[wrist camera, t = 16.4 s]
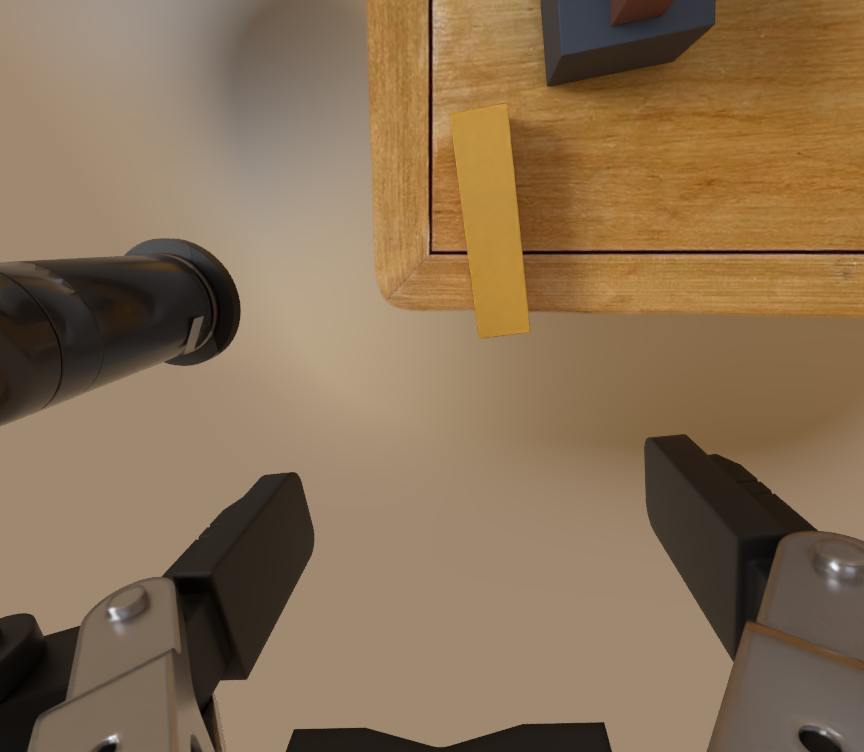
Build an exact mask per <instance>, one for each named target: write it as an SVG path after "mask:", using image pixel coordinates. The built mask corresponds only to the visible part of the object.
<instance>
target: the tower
mask: <svg viewBox="0 0 864 752" xmlns="http://www.w3.org/2000/svg"><path fill="white" fill-rule="evenodd" d="M541 12H542V25H543V38H544V51H545V64H546V77H547V86H552V85H557V84H562V83H567V82H572V81H577V80H582V79H587V78H592V77H597V76H602V75H607V74H612V73H617V72H622V71H627V70H632V69H637V68H642V67H647V66H652V65H657V64H662V63H668V62H673V61H674V60H676V59H677V58H678V57H679V56H680V55H681V54H682V53H683V52H685V51H686V50H687V49H688V48H689V47H690V46H691V45H692V44H693V43H695V42H696V41H697V40H698V39H699V38H700V37H701V36H702V35H704V34H705V33H706V32H707V31H708V30H709V29H710V28H711V27H712V26H714V25H715V0H541Z"/></svg>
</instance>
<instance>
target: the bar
mask: <svg viewBox="0 0 864 752" xmlns="http://www.w3.org/2000/svg"><path fill="white" fill-rule="evenodd" d="M450 123H451V130H452V138H453V146H454V153H455V161H456V169H457V176H458V184H459V191H460V199H461V207H462V214H463V222H464V230H465V237H466V245H467V252H468V260H469V268H470V275H471V283H472V291H473V298H474V306H475V313H476V321H477V329H478V336H479V339H482V338H489V337H497V336H504V335H511V334H519V333H527V332H530V324H529V314H528V304H527V294H526V284H525V274H524V264H523V253H522V243H521V233H520V223H519V213H518V203H517V193H516V183H515V173H514V163H513V153H512V143H511V133H510V123H509V113H508V103H503V104H498V105H493V106H488V107H483V108H478V109H473V110H468V111H463V112H458V113H453V114H450Z"/></svg>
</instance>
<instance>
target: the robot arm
mask: <svg viewBox="0 0 864 752" xmlns="http://www.w3.org/2000/svg"><path fill="white" fill-rule="evenodd" d="M219 319H220V305H219V300H218V296H217V293H216V291H215V288H214V286H213V285H212V283H211V281H210V280H209V278H208V277H207V276H206V274H205V273H204V272H203V271H202V270H201V269H200V268H199V267H198V266H196V265H195V264H194V263H192V262H191V261H189V260H187V259H185V258H183V257H181V256H178V255H174V254H168V253H156V254H148V255H139V256H115V257H96V258H77V259H58V260H39V261H21V262H20V261H19V262H6V263H0V426H2V425H5V424H8V423H11V422H13V421H15V420H18V419H21V418H23V417H26V416H28V415H31V414H33V413H36V412H38V411H41V410H44V409H46V408H49V407H51V406H54V405H56V404H59V403H61V402H64V401H66V400H69V399H72V398H74V397H76V396H79V395H81V394H83V393H86V392H89V391H91V390H94V389H96V388H99V387H101V386H104V385H106V384H109V383H112V382H114V381H116V380H119V379H121V378H124V377H127V376H129V375H131V374H134V373H137V372H139V371H142V370H144V369H147V368H150V367H152V366H154V365H157V364H160V363H162V362H165V361H167V360H170V359H173V358H175V357H178V356H180V355H185V354H188V353H191V352H194V351H196V350H198V349H200V348H202V347H203V346H205V345H206V344H207V343H208V342H209V341H210V340H211V339H212V337H213V336H214V334H215V332H216V330H217V328H218V324H219ZM644 448H645V449H644V454H645V485H646V506H647V512H648V517H649V520H650V523H651V526H652V528H653V530H654V532H655V534H656V536H657V537H658V539H659V541H660V542H661V544H662V545H663V547H664V549H665V550H666V552H667V554H668V555H669V557H670V559H671V560H672V562H673V564H674V565H675V567H676V568H677V570H678V572H679V573H680V575H681V577H682V578H683V580H684V582H685V583H686V585H687V587H688V588H689V590H690V591H691V593H692V595H693V596H694V598H695V600H696V601H697V603H698V604H699V606H700V608H701V610H702V611H703V613H704V614H705V616H706V618H707V619H708V621H709V623H710V624H711V626H712V628H713V629H714V631H715V633H716V634H717V636H718V637H719V639H720V641H721V642H722V644H723V646H724V647H725V649H726V651H727V652H728V654H729V655H730V657H731V659H732V660H733V662H734V664H733V667H732V670H731V674H730V677H729V680H728V684H727V687H726V690H725V694H724V697H723V700H722V703H721V707H720V710H719V713H718V716H717V720H716V723H715V726H714V729H713V733H712V736H711V739H710V743H709V746H708V749H707V752H864V541H862V540H859V539H856V538H853V537H850V536H846V535H842V534H837V533H831V532H823V531H818V530H817V529H815V528H814V527H813V526H812V525H811V524H810V523H808V522H807V521H806V520H805V519H804V518H803V517H801V516H800V515H799V514H798V513H797V512H795V511H794V510H793V509H792V508H791V507H790V506H788V505H787V504H786V503H785V502H784V501H783V500H781V499H780V498H779V497H778V496H777V495H776V494H772V493H771V490H770V489H769V488H767V487H766V486H765V485H764V484H763V483H761V482H758V481H757V478H756V477H754V476H753V475H752V474H751V473H750V472H748V471H747V470H746V469H745V468H744V467H742V465H740V464H738V463H735V462H733V461H731V460H729V459H726V458H724V457H722V456H720V455H717V454H712V455H707V454H706V453H705V452H704V451H703V450H702V449H701V448H700V447H699V446H697V445H696V444H695V443H694V442H693V441H692V440H691V439H690V438H689V437H688V436H687V435H684V434H681V435H671V436H661V437H650V438H647V439H646V441H645V447H644ZM313 547H314V530H313V525H312V521H311V517H310V513H309V509H308V505H307V502H306V498H305V494H304V490H303V486H302V482H301V479H300V477H299V476H298V475H297V473H294V472H290V473H280V474H270V475H264V476H262V477H261V478H260V479H259V480H258V481H257V482H256V483H255V484H254V486H253V487H252V488H251V489H250V490H249V491H248V492H247V493H246V494H245V496H244V497H243V498H241V499H239V500H238V501H237V502H235V503H233V504H232V505H230V506H229V507H228V508H226V509H225V510H223V511H222V512H221V514H219V515H218V517H217V518H216V519H215V520H214V521H213V522H212V523H211V524H210V527H209V528H207V529H205V530H204V532H203V533H202V534H201V535H200V536H199V540H195V541H194V542H193V543H192V544H191V546H190V547H189V548H188V549H187V550H186V551H185V552H184V553H183V554H182V555H181V556H180V557H179V559H178V560H177V561H176V562H175V563H174V564H173V565H172V566H171V567H170V568H169V569H168V570H167V571H166V573H164V575H163V576H162V577H153V578H148V579H143V580H140V581H137V582H134V583H132V584H129V585H127V586H125V587H123V588H121V589H119V590H118V591H115V592H114V593H112V594H110V595H109V596H107V597H106V598H105V599H103V600H102V601H101V602H99V603H98V604H97V605H96V606H95V607H94V608H93V609H92V610H91V611H90V612H89V613H88V614H87V615H86V616H85V618H84V620H83V621H82V623H81V626H78V627H74V628H71V629H67V630H64V631H60V632H57V633H53V634H50V635H47V636H43V634H42V632H41V630H40V628H39V626H38V624H37V621H36V619H35V618H34V616H33V615H31V614H26V613H25V614H15V615H11V616H6V617H3V618H0V752H226V747H225V741H224V736H223V730H222V725H221V718H220V713H219V707H218V703H217V700H216V697H215V695H214V690H215V688H216V687H217V685H218V683H219V681H220V680H246V679H247V678H248V676H249V674H250V672H251V671H252V669H253V667H254V665H255V663H256V661H257V659H258V657H259V655H260V653H261V651H262V649H263V647H264V645H265V644H266V642H267V640H268V638H269V636H270V634H271V632H272V630H273V628H274V626H275V624H276V622H277V620H278V619H279V617H280V615H281V613H282V611H283V609H284V607H285V605H286V603H287V601H288V599H289V597H290V595H291V594H292V592H293V590H294V588H295V586H296V584H297V582H298V580H299V578H300V576H301V574H302V572H303V571H304V569H305V567H306V565H307V562H308V561H309V559H310V557H311V555H312V552H313ZM286 752H612V750H611V747H610V743H609V739H608V735H607V732H606V728H605V724H604V722H601V723H561V724H560V723H558V724H557V723H556V724H522V725H519V726H515V727H512V728H509V729H505V730H502V731H499V732H495V733H492V734H489V735H485V736H482V737H478V738H475V739H471V740H468V741H465V742H461V743H458V744H455V745H451V746H447V747H433V746H429V745H425V744H422V743H418V742H415V741H411V740H407V739H404V738H400V737H397V736H393V735H389V734H386V733H382V732H379V731H375V730H372V729H368V728H334V729H333V728H332V729H294V731H293V734H292V736H291V739H290V742H289V744H288V747H287V750H286Z"/></svg>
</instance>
